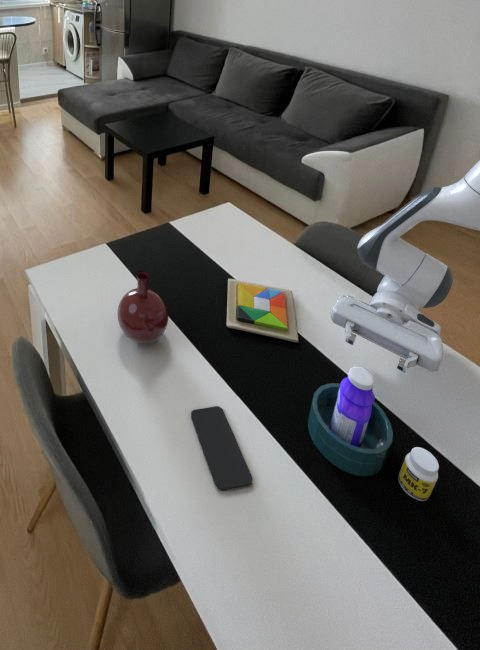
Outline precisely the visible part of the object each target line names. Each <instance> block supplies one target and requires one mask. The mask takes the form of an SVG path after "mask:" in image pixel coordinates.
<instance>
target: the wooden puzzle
mask: <svg viewBox="0 0 480 650" xmlns="http://www.w3.org/2000/svg"><path fill="white" fill-rule="evenodd" d="M226 299H227V300H226V301H227V303H226V327H227V328H228V329H233V330H238V331H243V332H247V333H251V334H257V335H261V336H265V337H270V338H274V339H279V340H283V341H288V342H292V343H299V335H298V327H297V320H296V319H297V318H296V311H295V304H294V303H295V302H294V296H293V291H292V290H291V289H289V288H283V287H277V286H272V285H266V284H260V283H256V282H250V281H244V280H241V279H235V278H228V279H227V298H226Z"/></svg>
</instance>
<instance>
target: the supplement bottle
mask: <svg viewBox="0 0 480 650" xmlns="http://www.w3.org/2000/svg"><path fill="white" fill-rule="evenodd" d="M439 469H440V465H439V461H438V460H437V458H436V457H435V456H434V454H432V453H431V452H430V451H429V450H427V449H425V448H424V447H419V446H416V447H415V446H414V447H413V448H412V449H411V450H410V452H408V453H407V454H406V455H405V457H404V460H403V462H402V465H401V468H400V470H399V472H398V476H397V478H398V479H397V480H398V483H399V485H400V487H401V489H402V490H403V491H404V492H405V493H406V494H407V495H408V496H409V497H411V498H412V499H415V500H417V501H420V502H424V501H425V502H426V501H427V500H428V499H429V498H430V497H431V494H432V492H433V490H434V488H435V486H436V484H437V481H438V479H439Z"/></svg>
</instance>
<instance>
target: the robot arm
mask: <svg viewBox="0 0 480 650" xmlns="http://www.w3.org/2000/svg"><path fill="white" fill-rule="evenodd" d="M426 221H434V222H442V223H446V224H447V223H448V224H451V225H456V226H459V227H463V228H467V229H470V230H476V231H480V160H478V161H477V162H476V163H475V164H474V165H473V166H472V167H471V168H470V169H469V170H468V171H467V173H466V174H465V175H464V176H463V177H462V178H461V179H460V180H458V181H457V182H455V183H452V184H449V185H447V186H442V187H441V186H432V187H429V188H427V189H425V190H423V191H422V192H420V193H419V194H417V196H415V197H414V198H412V199H411V200H410V201H408V202H407V203H406V204H404V205H403V206H402V207H401V208H399V210H396V212H395V213H393V214H392V215H391V216H390V217H389V218H387V219H386V220H384V221H383V222H382V223H380V224H379V225H378V226H376V227H375V228H373V229H372V230H370V231H368V232H367V233H366V234H364V235H363V236H362V237H361V238H360V239H359V241H358V244H357V247H356V252H357V255H358V257H359V259H360V261H361V263H362V264H363V265H365V266H366V267H368V268H370V269H372V270H374V271H375V272H378V273H380V274H381V275H383V278H382V279H381V281H380V282H379V284H378V286H377V290H376V292H375V294H373V296H372V299H371V300H370V302H369V303H367V302H364V301H362V300H360V299H357V298H355V297H353V296H351V295H339V296H338V297H337V299H336V303H335V304H334V305H333V307H332V309H331V312H330V319H331V321H332V323H334V324H335V325H337V326H339V327H341V328H343V329H344V333H345V343H347V344H349V345H351V346H354V343H355V342H356V338H357V336H359V337H361V338H363V339H365V340H367V341H369V342H371V343H373V344H375V345H377V346H379V347H381V348H383V349H385V350H387V351H389V352H391V353H392V354H395V355H397V356H398V357H399V360H398V363H397V366H396V369H397V370H399V371H401V372H402V373H406V371H407V369H410V368H413V367H416V365H417V366H419V367H421V368H422V369H424V370H426V371H428V372H431V373H436V372H439V370H440V367H441V364H442V361H443V354H444V343H443V339H442V338H441V329H442V327H441V325H439V323H437V322H436V321H435V320H433V319H431V318H430V317H428V316H426V315H425V314H423V313H422V312H421V309H429V308H434V307H436V306H439V305H440V304H441V303H443V301H444V300H445V299H446V298H447V296H448V295H449V293H450V292H451V289H452V286H453V283H454V278H453V274H452V271H451V269H450V267H449V265H447V264H445V263H444V262H442V261H440V260H439V259H437V258H435V257H434V256H432V255H430V254H429V253H427V252H424V251H423V250H421V249H419V248H418V247H417V246H414V245H413V244H411V243H409V242H407V241H406V240H404V239H403V238H401V237H402V236H403V235H404V234H406V233H407V232H408V231H410V230H411V229H413V228H414V227H416V225H418V224H420V223H422V222H426Z"/></svg>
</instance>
